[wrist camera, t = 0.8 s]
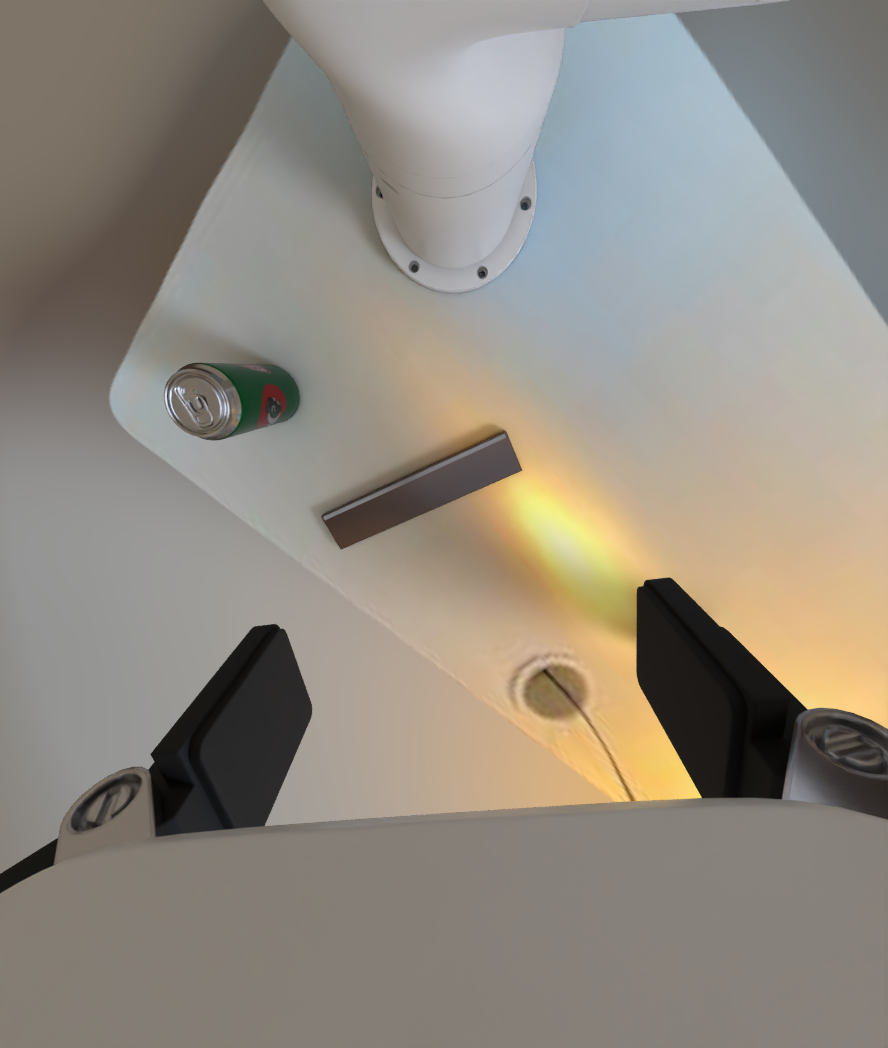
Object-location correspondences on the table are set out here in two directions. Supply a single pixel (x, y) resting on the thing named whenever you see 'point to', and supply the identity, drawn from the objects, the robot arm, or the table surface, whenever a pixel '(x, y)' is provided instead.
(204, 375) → the soda can
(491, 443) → the ruler
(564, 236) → the table surface
